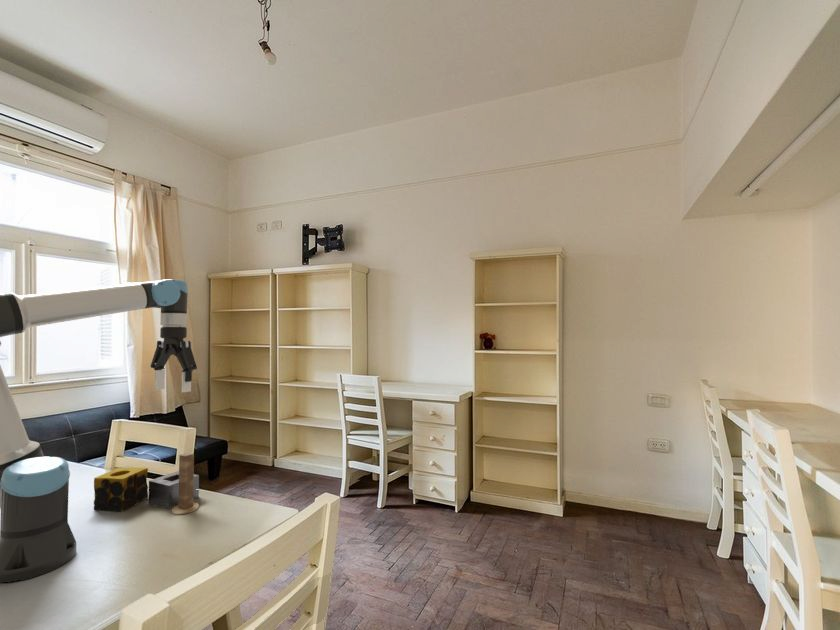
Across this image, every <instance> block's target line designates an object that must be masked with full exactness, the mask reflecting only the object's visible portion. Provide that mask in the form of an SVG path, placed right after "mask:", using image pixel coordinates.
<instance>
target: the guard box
mask: <svg viewBox="0 0 840 630" xmlns="http://www.w3.org/2000/svg"><path fill="white" fill-rule="evenodd" d="M196 489H199V490H196ZM199 495H200V475H199V474H195V473H194V489H193V500H194V499H196V498H199ZM148 504H150V505H153V506H156V507H161V508H164V509H166V510H167V509H168V510H169V509H173V508H174V507H176V506H178V505H179V470H177V471H174V472H171V473H168V474H166V475H165V474H164V475H163V476H159V477H156V478H153V479H150V480H148Z"/></svg>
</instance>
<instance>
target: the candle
mask: <svg viewBox="0 0 840 630" xmlns="http://www.w3.org/2000/svg"><path fill="white" fill-rule="evenodd" d="M148 469H149V468H148V467H129V466H128V467H127V466H125V467H118V468H115V469H112V470H110V471H108V472H105V473H103V474H100V475H98V476H96V477H94V479H93V490H94V500H93V510H95V511H106V512H108V511H110V512H115V511H116V512H124V511H127V510H129V509H130V508H132V507H134V506H136V505H138V504H139V503H141V502H142V501H145V500H147V499H149V485H148V482H147V480H148V479H147V477H148V471H149V470H148Z"/></svg>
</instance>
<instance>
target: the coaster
mask: <svg viewBox="0 0 840 630" xmlns="http://www.w3.org/2000/svg"><path fill="white" fill-rule="evenodd" d="M198 509H199V503H198V502H193V507H190V508H188V509H186V510H183V509H179V505H177V506H175V507H172V508H171V512H172V514H173V515H177V516H179V515H186V514H190V513H193V512H195V511H197V510H198Z"/></svg>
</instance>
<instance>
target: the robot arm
mask: <svg viewBox="0 0 840 630" xmlns="http://www.w3.org/2000/svg"><path fill="white" fill-rule="evenodd" d="M188 295H189V294H188V285H187V282H186V281H184V280H182V279H181V280H180V279H171V278H170V279H169V278H168V279H166V278H165V279H157V280H152V281H151V280H150V281H143V282H132V281H131V282H120V283H119V284H117V285H116V284H115V285H108V286H97V287H89V288H81V289H80V288H79V289H78V288H77V289H72V290H61V291H51V292H44V293H43V292H42V293H37V294H25V295H18V294H16V293H14V292H5V293H0V338H3V337H7V336H11V335H13V336H14V335H17V334H22V333H23V334H24V332H26V331H27V329H29V328H34V327H39V326H47V325H52V324H59V323H64V322H70V321H71V322H72V321H76V320H77V321H78V320H82V319H83V320H84V319H88V318H89V319H90V318H94V317H102V316H108V315H113V314H120V313H125V312H131V311H137V310H144V309H153V308H154V309H155V308H156V309H160V326H162V327H160V331H159V332H160V333H159V334H160V336H159V337H160V338H161V339H163V340H157V342H156V348H155V351H154V354H153V357H152V359H151V360H152V361H151V363H150V368H151V369H153V371H154V379H155V380H154V384H155V385H154V390H155V391H157V390H158V391H159V390H165V389H166V388H165V387H166V386H165V384H166V383H165V379H166V370H165V369H166V368H165V366H166V364H167V362H168V360H169V358H170V357H171V356H173V355H174V356H175V357H176V359H177V361H178V363H179V364H180V366H181V368H182V370H181V393H189V392H190V393H191V392H192V380H193V378H192V377H193V376H192V375H193V371H195V370H197V369H198V367H197V363H196V360H195V357H194V353H193V351H192V343H191V340H184V339H186V338H187V333H188V332H187V330H188V329H187V327H186V326H187V323H188V322H187V320H188V315H187V313H188ZM1 346H2V343H1V341H0V347H1ZM22 420H23V419H22V417H21V415H20V413H19V411H18V407H17V405H16V402H15V400H14V397H13V395H12V392H11V390H10V387H9V384H8V382H7V379H6V377H5V374H4V372H3V368H2V366H1V365H0V584H4V583H3V582H8V583H12V582H11V581H15V582H18V581H17V580H20V581H23V579H25V580H29V579H33V578H36V577H38V576H41V575H43V574H44V575H45V574H46V573H47V574H48V573H49V572H52V571H54V570H56V569H58V568H60V567H61V566H64V565H65V564H66V563H68V562H69V561H71V560H72V559H73V558H74V557H75V555H76V554H77V540H76V538H75V536H74V533H73V531H72V528H71V527H70V524H69V521H68V520H69V519H68V517H69V493H70V492H69V487H70V483H69V482H70V481H69V480H70V477H71V472H70V468H69V462H68V461H67V460H65V459H64V458H63V457H59V456H45V455H44V452H43V450H42V446H41V444H40V442H38V441H35V440H30V438H29V436H28V433H27V431H26V428H25V425H24V423H23V421H22ZM28 578H29V579H28Z"/></svg>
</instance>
